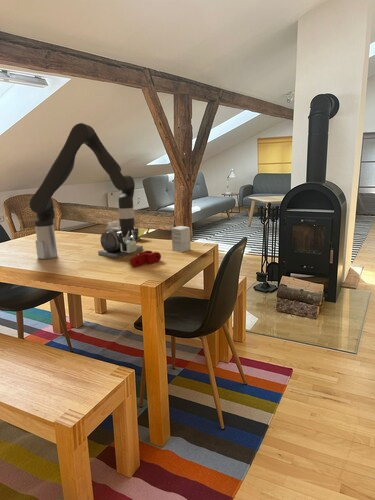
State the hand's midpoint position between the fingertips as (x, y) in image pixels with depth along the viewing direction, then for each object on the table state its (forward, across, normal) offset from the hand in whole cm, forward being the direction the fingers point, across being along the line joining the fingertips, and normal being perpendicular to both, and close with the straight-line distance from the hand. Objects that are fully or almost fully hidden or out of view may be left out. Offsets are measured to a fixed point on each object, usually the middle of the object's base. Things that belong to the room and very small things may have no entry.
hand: (128, 249), depth 195 cm
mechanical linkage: (+5, +2, +12) cm, 13 cm away
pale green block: (+1, 0, 0) cm, 1 cm away
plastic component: (+5, -30, -29) cm, 42 cm away
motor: (+5, -8, -14) cm, 17 cm away
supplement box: (+5, -27, +13) cm, 31 cm away
